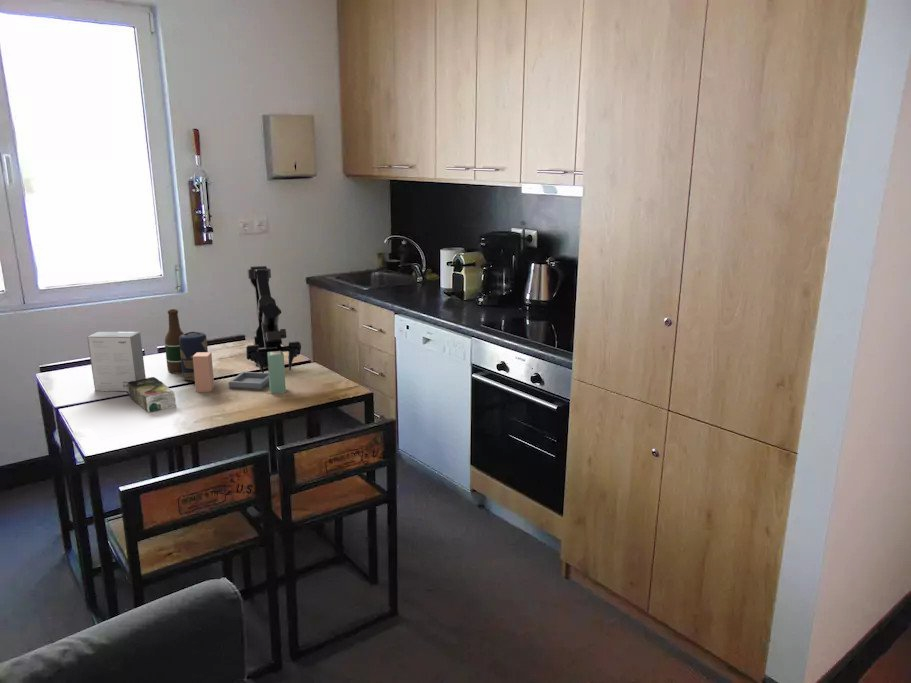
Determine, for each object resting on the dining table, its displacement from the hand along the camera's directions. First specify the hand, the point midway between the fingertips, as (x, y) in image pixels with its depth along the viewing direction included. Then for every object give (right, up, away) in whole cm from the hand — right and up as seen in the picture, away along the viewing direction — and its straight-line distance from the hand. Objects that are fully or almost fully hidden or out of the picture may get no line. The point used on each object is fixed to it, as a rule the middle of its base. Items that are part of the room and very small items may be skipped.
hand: (276, 371), depth 238 cm
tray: (-12, -5, +10) cm, 16 cm away
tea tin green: (-1, -7, +3) cm, 8 cm away
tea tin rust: (-27, -7, +4) cm, 28 cm away
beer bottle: (-44, -1, +24) cm, 50 cm away
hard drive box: (-57, -6, +4) cm, 57 cm away
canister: (-34, -4, +15) cm, 37 cm away
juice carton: (-40, -10, -9) cm, 42 cm away
